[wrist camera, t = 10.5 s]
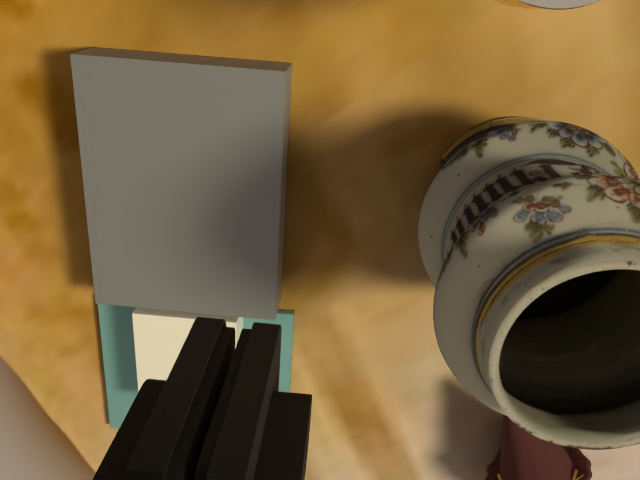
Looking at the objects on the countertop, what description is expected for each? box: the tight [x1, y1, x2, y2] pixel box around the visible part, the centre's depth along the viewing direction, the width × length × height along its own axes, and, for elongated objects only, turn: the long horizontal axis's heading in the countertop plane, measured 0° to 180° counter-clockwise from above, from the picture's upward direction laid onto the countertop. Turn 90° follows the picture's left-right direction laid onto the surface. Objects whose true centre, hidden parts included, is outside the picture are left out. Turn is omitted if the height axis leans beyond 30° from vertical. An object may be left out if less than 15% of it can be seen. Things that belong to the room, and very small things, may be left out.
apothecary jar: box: [418, 117, 640, 450], centre depth 30 cm, size 12×12×18 cm
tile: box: [132, 307, 243, 392], centre depth 43 cm, size 8×7×2 cm
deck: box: [70, 47, 292, 320], centre depth 38 cm, size 16×12×3 cm
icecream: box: [485, 415, 592, 480], centre depth 44 cm, size 7×7×15 cm
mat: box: [98, 304, 294, 428], centre depth 46 cm, size 12×14×1 cm
